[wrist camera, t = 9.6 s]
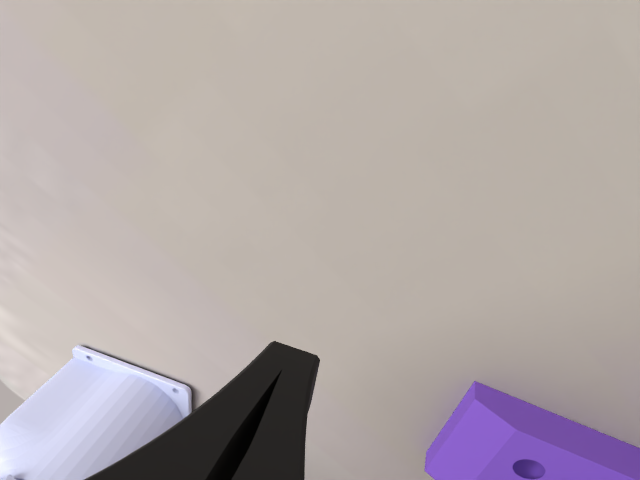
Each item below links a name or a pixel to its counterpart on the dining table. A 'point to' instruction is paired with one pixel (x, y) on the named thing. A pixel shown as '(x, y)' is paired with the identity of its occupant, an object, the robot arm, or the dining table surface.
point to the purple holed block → (523, 444)
